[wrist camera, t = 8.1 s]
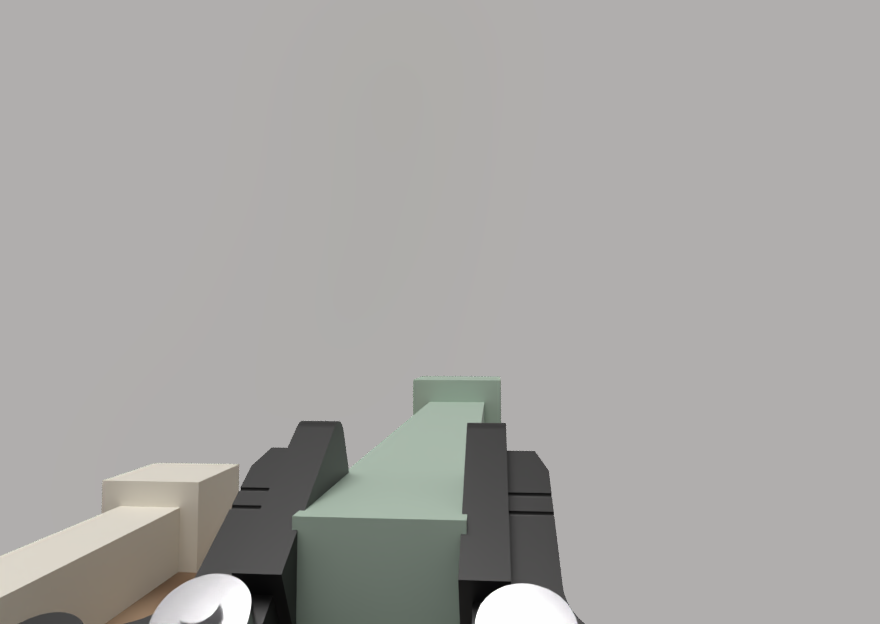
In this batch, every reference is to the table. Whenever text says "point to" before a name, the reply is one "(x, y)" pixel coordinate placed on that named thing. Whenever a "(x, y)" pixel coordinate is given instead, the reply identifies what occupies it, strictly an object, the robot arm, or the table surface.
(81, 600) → the cream stick
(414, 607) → the sage stick
